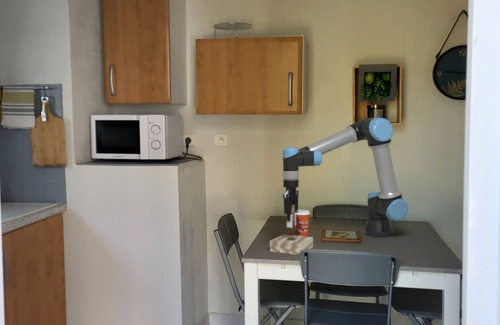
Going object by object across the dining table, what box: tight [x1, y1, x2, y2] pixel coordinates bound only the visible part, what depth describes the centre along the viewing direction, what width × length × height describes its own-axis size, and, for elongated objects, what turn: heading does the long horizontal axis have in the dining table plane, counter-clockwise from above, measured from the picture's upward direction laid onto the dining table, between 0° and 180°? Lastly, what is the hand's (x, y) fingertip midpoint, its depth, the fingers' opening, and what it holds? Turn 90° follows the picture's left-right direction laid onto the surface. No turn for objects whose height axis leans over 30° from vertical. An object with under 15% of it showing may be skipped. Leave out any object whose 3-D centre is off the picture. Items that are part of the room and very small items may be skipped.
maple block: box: [269, 233, 314, 256], centre depth 245 cm, size 16×16×5 cm
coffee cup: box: [295, 209, 311, 237], centre depth 266 cm, size 8×8×15 cm
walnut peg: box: [287, 204, 296, 236], centre depth 244 cm, size 4×4×15 cm
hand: (291, 226), depth 244 cm, fingers closed on walnut peg, 3 cm apart
